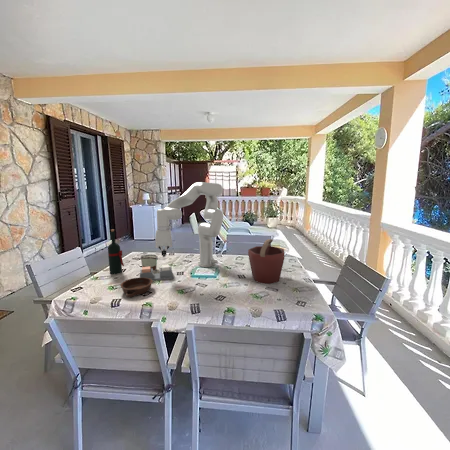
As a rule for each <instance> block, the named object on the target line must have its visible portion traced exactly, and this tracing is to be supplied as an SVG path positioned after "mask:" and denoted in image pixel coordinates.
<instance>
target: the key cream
mask: <svg viewBox="0 0 450 450" xmlns="http://www.w3.org/2000/svg"><path fill="white" fill-rule="evenodd" d="M170 267H171V266H170V264H162V265H161V267H160V268H162V271H167V270H170Z"/></svg>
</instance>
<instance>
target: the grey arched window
mask: <svg viewBox="0 0 450 450" xmlns="http://www.w3.org/2000/svg"><path fill="white" fill-rule="evenodd" d="M140 260H141V268H142V267H149V266H150V269H152V268H153V272H155V271H157V263H158V262H157V261H158V260H159V259H158V256H157V255H156V254H151V253H150V254H144V255H141V256H140Z"/></svg>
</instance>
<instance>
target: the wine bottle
mask: <svg viewBox="0 0 450 450" xmlns="http://www.w3.org/2000/svg"><path fill="white" fill-rule="evenodd" d="M110 236H111V238H110V239H111V243H110V244H108V246H107V253H108V254H107V255H108V256H107V257H108V266H109V268H108V269H109V274H110V275H119V274H121V273H122V272H123V267H125V264H124V262H123V257H122V256H123V250H121V246H120V245H119V244H118V243H117V242H116V233H115V229H110Z"/></svg>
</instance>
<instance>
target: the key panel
mask: <svg viewBox="0 0 450 450" xmlns="http://www.w3.org/2000/svg"><path fill="white" fill-rule="evenodd" d="M139 270H140V271H139V277H138V278H141V277H144V278H150V279H152V281H160V280H161V281H163V280H168V279H170V280H171V279H174V273H173V270H172V266H170V270H167V271H162V268H161V267H159V272H157V273H156V272H155V273H154V271H153V268H152V269H151V272H146V273H142V268H141V269H139Z"/></svg>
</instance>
